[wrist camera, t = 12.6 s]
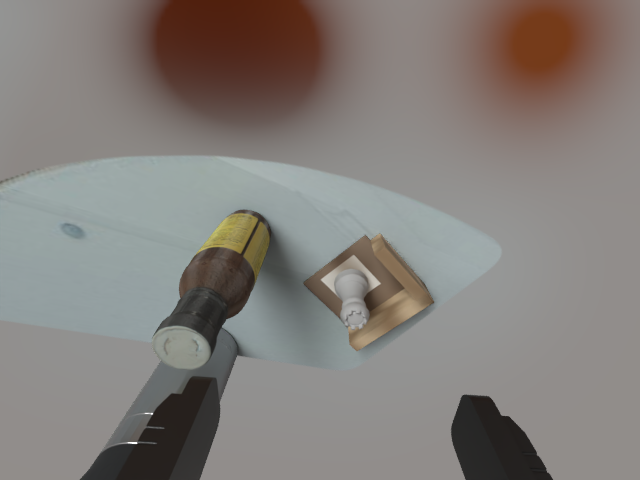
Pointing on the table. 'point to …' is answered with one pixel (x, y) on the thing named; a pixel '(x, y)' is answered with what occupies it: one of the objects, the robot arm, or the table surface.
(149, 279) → the table surface
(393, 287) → the wooden tray
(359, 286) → the rook chess piece
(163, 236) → the table surface
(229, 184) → the table surface
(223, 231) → the sauce bottle
